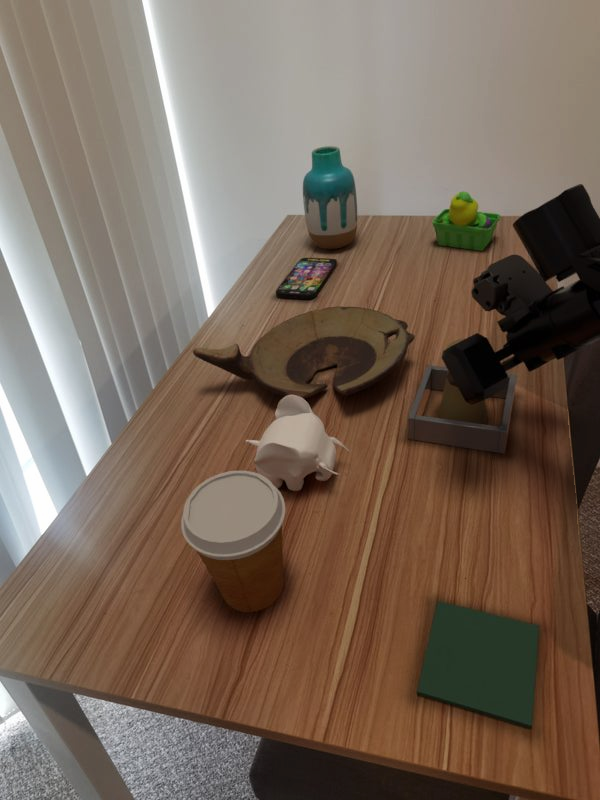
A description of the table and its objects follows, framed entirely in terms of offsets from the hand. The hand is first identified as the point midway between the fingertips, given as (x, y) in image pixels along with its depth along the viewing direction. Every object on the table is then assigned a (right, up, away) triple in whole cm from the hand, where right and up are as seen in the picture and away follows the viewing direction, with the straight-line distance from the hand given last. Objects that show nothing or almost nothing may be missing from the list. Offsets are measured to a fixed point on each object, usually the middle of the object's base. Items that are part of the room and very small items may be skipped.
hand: (478, 364), depth 70 cm
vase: (-14, +28, +55) cm, 63 cm away
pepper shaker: (0, -7, +7) cm, 10 cm away
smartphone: (-19, +18, +43) cm, 51 cm away
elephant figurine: (-21, -13, +2) cm, 25 cm away
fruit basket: (+11, +26, +48) cm, 56 cm away
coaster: (-5, -27, -19) cm, 33 cm away
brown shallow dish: (-19, 0, +19) cm, 27 cm away
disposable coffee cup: (-26, -23, -10) cm, 36 cm away
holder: (0, -6, +7) cm, 9 cm away
